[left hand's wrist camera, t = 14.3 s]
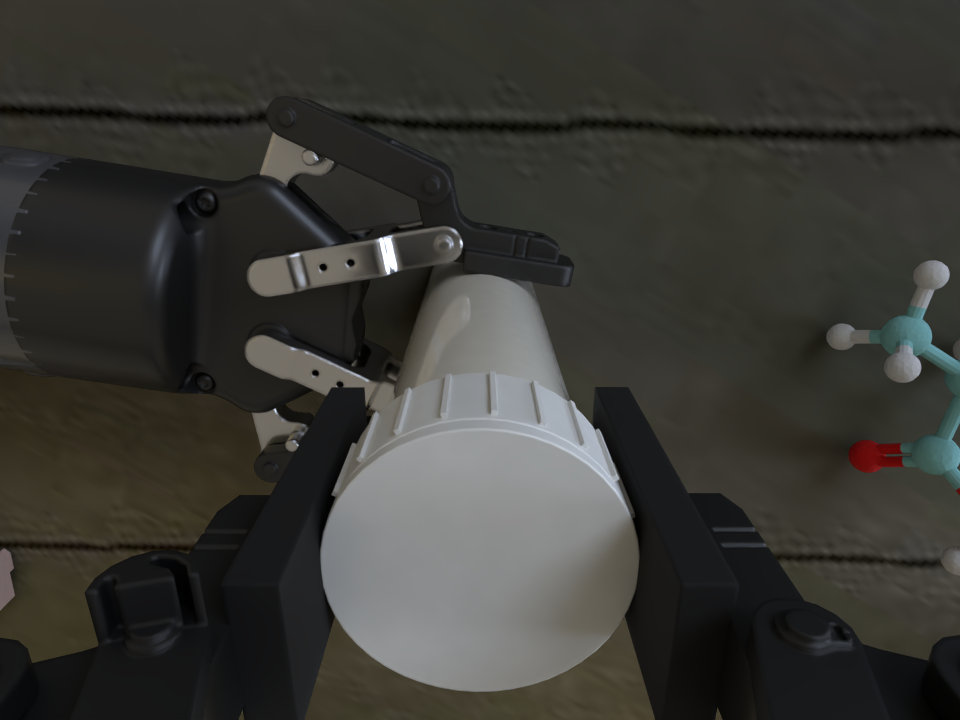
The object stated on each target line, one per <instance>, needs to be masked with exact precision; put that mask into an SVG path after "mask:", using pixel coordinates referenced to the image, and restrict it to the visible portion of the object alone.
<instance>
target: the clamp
mask: <svg viewBox="0 0 960 720" xmlns="http://www.w3.org/2000/svg"><path fill="white" fill-rule="evenodd" d="M13 569H14V566H13V562H12V557H11V553H10V552H9V551H7V550H6V549H5V548H3V549H2V550H1V551H0V610H1V609H2V608H3V607H4V606H5V605H6V604H7V603H8V602H9V601H10V600H11V599H12V598H13V597H14V596H15V594H14V589H13V585H12V580H11V576H10V572H11V571H12V570H13Z"/></svg>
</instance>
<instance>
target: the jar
mask: <svg viewBox="0 0 960 720" xmlns="http://www.w3.org/2000/svg"><path fill="white" fill-rule="evenodd" d="M462 268H463V263H458V262H450V263H445V264H439V265H434V267H433V270H432V272H431V275H430V279H429V282H428V285H427V288H426V291H425V294H424V297H423V300H422V303H421V306H420V309H419V312H418V315H417V318H416V321H415V324H414V327H413V330H412V334H411V337H410V340H409V343H408V346H407V349H406V352H405V355H404V358H403V361H402V364H401V367H400V370H399V373H398V376H397V379H396V382H395V385H394V389H393V392H392V395H391V398H390V401H389V404H390V403H391V402H392V401H393V400H395V399H396V398H397V397H399V396H401V395H402V394H404V391H405V389H407V388H409V387H410V389H413V388H415V387H417V386H420V385H422V384H424V383H427V382H429V381H432V380H436V379H439V378H443V377H445V375H446V374H450V373H451V375H459V374H465V373H489V372H490V371H495V373H496V374H503V375H507V376H512V377H517V378H521V379H524V380H527V381H530V382H532V381H533V380H535V381H537V382H538V384H539V385H540V386H542V387H544V388H546V389H548V390H550V391H552V392H554V393H556V394H557V395H559V396H560V397H562V398H563V399H565V400H566V401H568V402H569V401H570V399H569V396H568V393H567V390H566V387H565V383H564V380H563V377H562V374H561V371H560V368H559V365H558V362H557V359H556V356H555V353H554V350H553V347H552V344H551V341H550V338H549V335H548V332H547V328H546V325H545V322H544V319H543V316H542V313H541V310H540V307H539V304H538V301H537V298H536V295H535V292H534V289H533V286H532V283H531V282H528V281H522V280H515V279H509V278H503V277H497V276H492V275H484V274H477V273H471V272H464V271H462Z"/></svg>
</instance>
